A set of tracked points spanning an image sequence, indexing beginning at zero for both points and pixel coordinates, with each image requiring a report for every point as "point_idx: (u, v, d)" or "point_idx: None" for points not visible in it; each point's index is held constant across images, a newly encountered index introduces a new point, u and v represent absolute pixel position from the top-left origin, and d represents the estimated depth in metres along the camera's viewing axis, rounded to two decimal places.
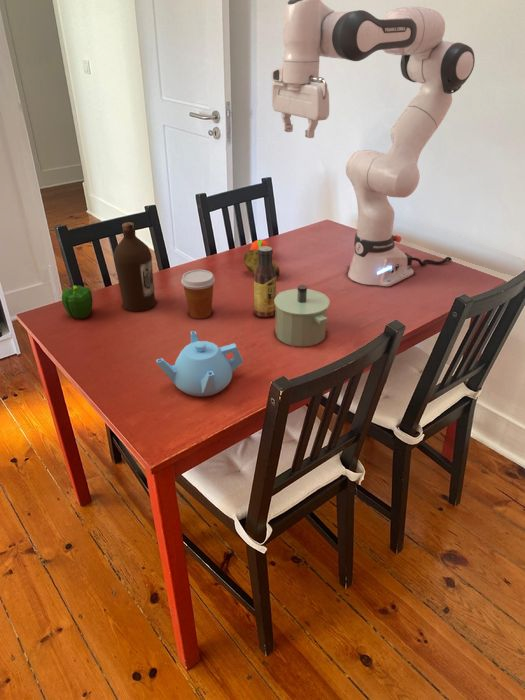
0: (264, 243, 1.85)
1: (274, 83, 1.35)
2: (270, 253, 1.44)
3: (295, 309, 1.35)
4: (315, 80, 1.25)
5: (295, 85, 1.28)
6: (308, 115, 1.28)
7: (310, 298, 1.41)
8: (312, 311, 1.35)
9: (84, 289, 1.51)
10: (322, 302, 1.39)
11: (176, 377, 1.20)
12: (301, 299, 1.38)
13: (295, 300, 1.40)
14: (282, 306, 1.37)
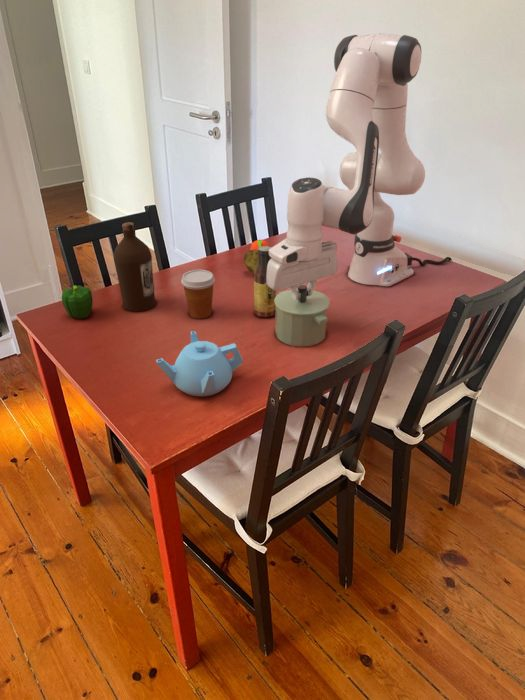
0: (264, 243, 1.85)
1: (284, 266, 1.28)
2: None
3: (295, 309, 1.35)
4: (325, 245, 1.35)
5: None
6: (326, 274, 1.37)
7: (310, 298, 1.41)
8: (312, 311, 1.35)
9: (84, 289, 1.51)
10: (322, 302, 1.39)
11: (176, 377, 1.20)
12: (301, 299, 1.38)
13: (296, 300, 1.40)
14: (282, 305, 1.37)
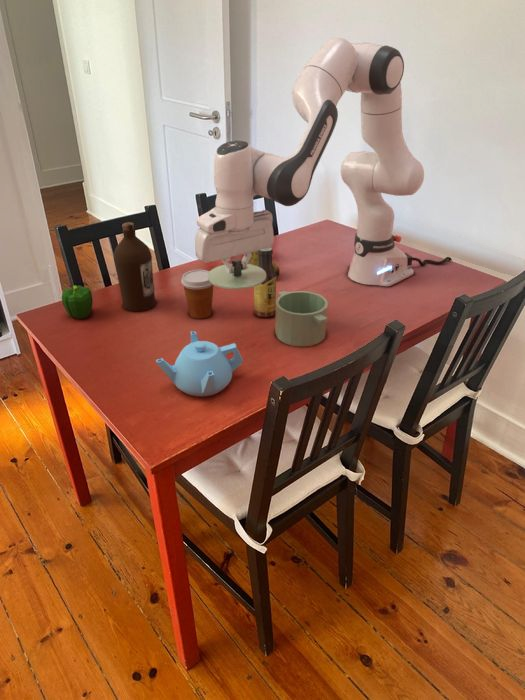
0: None
1: (211, 235, 1.20)
2: (270, 253, 1.44)
3: (228, 283, 1.28)
4: (259, 214, 1.27)
5: (247, 226, 1.24)
6: (261, 246, 1.30)
7: (246, 272, 1.33)
8: (245, 284, 1.27)
9: (84, 289, 1.51)
10: (258, 276, 1.31)
11: (176, 377, 1.20)
12: (235, 273, 1.30)
13: (230, 274, 1.32)
14: (215, 279, 1.29)
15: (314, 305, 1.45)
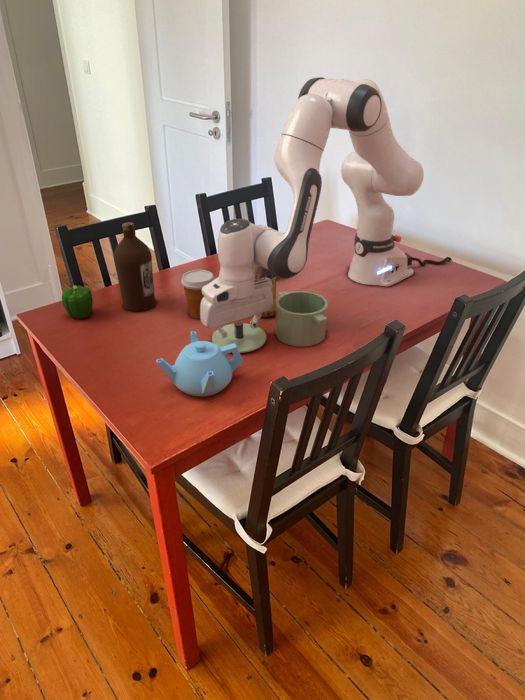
0: None
1: (215, 305, 1.29)
2: None
3: None
4: (260, 282, 1.36)
5: None
6: (262, 310, 1.39)
7: (248, 334, 1.42)
8: (247, 348, 1.36)
9: (84, 289, 1.51)
10: (259, 338, 1.40)
11: (176, 377, 1.20)
12: (237, 336, 1.40)
13: (233, 336, 1.42)
14: (218, 342, 1.39)
15: (314, 305, 1.45)
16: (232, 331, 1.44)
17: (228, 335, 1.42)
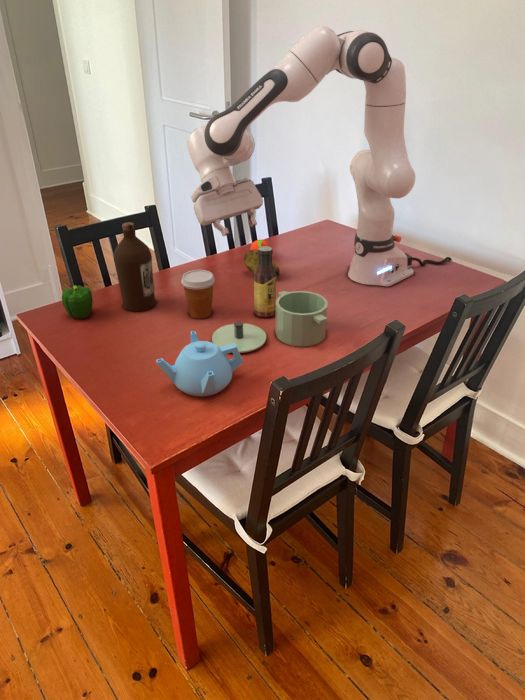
0: (264, 243, 1.85)
1: (202, 196, 1.43)
2: (270, 253, 1.44)
3: None
4: (241, 181, 1.51)
5: (231, 186, 1.47)
6: (253, 204, 1.50)
7: (248, 334, 1.42)
8: (247, 348, 1.36)
9: (84, 289, 1.51)
10: (259, 338, 1.40)
11: (176, 377, 1.20)
12: (237, 336, 1.40)
13: (233, 336, 1.42)
14: (218, 342, 1.39)
15: (314, 305, 1.45)
16: (232, 331, 1.44)
17: (228, 335, 1.42)
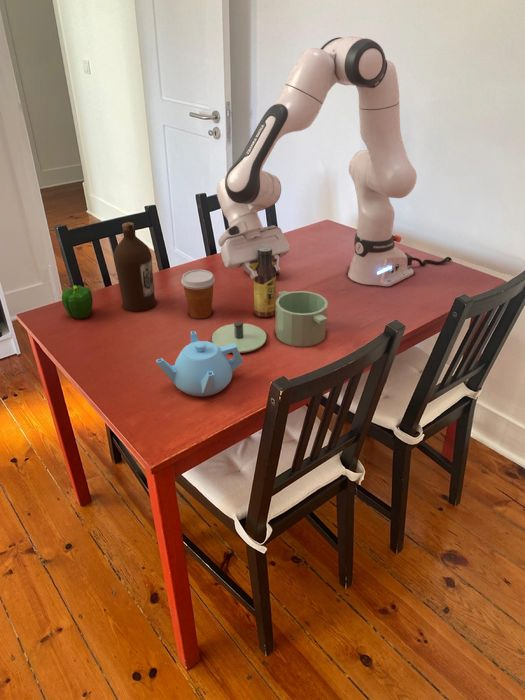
0: None
1: (230, 239, 1.43)
2: (270, 253, 1.44)
3: None
4: (268, 228, 1.52)
5: (259, 232, 1.48)
6: (280, 249, 1.50)
7: (248, 334, 1.42)
8: (247, 348, 1.36)
9: (84, 289, 1.51)
10: (259, 338, 1.40)
11: (176, 377, 1.20)
12: (237, 336, 1.40)
13: (233, 336, 1.42)
14: (218, 342, 1.39)
15: (314, 305, 1.45)
16: (232, 331, 1.44)
17: (228, 335, 1.42)
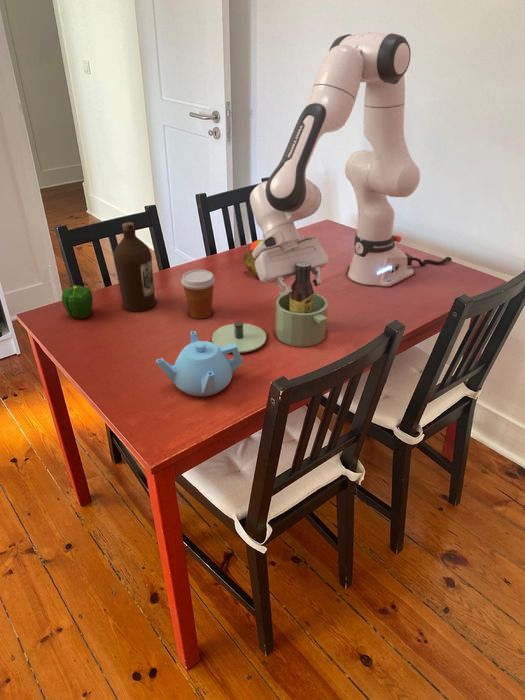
0: None
1: (265, 251, 1.33)
2: (309, 269, 1.34)
3: None
4: (305, 238, 1.41)
5: (296, 243, 1.37)
6: (318, 262, 1.39)
7: (248, 334, 1.42)
8: (247, 348, 1.36)
9: (84, 289, 1.51)
10: (259, 338, 1.40)
11: (176, 377, 1.20)
12: (237, 336, 1.40)
13: (233, 336, 1.42)
14: (218, 342, 1.39)
15: (314, 305, 1.45)
16: (232, 331, 1.44)
17: (228, 335, 1.42)
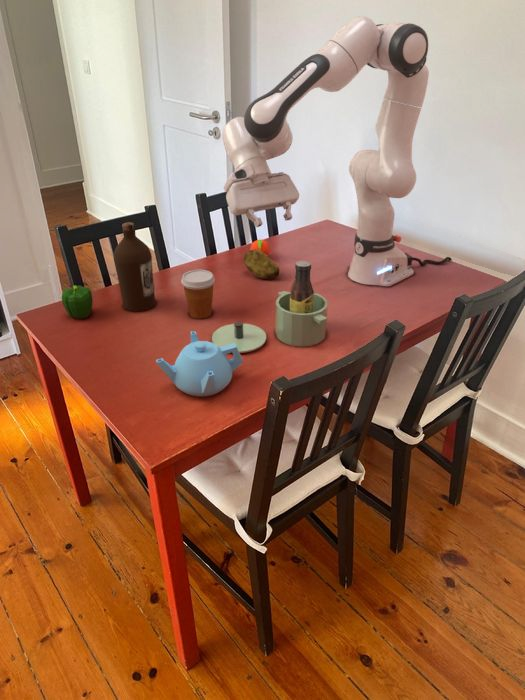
0: (264, 243, 1.85)
1: (236, 183, 1.35)
2: (309, 269, 1.34)
3: None
4: (277, 174, 1.44)
5: (266, 177, 1.40)
6: (289, 196, 1.42)
7: (248, 334, 1.42)
8: (247, 348, 1.36)
9: (84, 289, 1.51)
10: (259, 338, 1.40)
11: (176, 377, 1.20)
12: (237, 336, 1.40)
13: (233, 336, 1.42)
14: (218, 342, 1.39)
15: (314, 305, 1.45)
16: (232, 331, 1.44)
17: (228, 335, 1.42)
